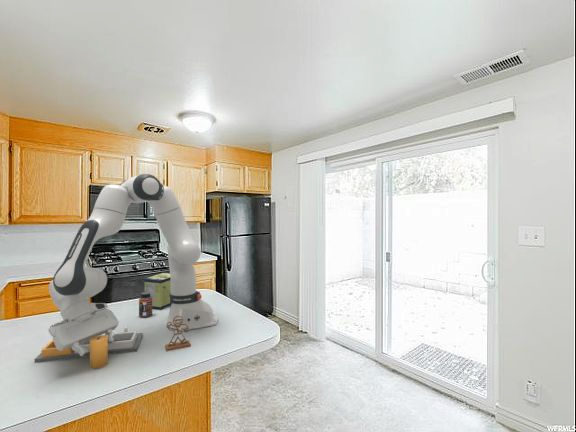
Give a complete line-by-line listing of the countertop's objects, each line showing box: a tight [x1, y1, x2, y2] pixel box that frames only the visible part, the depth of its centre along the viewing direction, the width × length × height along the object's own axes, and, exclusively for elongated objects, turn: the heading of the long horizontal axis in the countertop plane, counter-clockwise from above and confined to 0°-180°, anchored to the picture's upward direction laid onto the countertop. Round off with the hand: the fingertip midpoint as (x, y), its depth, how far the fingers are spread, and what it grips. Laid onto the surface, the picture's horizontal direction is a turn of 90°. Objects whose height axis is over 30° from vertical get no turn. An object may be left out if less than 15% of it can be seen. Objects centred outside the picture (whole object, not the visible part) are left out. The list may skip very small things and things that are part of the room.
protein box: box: [144, 272, 171, 311], centre depth 168 cm, size 10×16×16 cm
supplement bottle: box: [138, 291, 153, 318], centre depth 151 cm, size 6×6×11 cm
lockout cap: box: [89, 334, 109, 370], centre depth 106 cm, size 5×5×9 cm
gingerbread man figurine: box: [164, 316, 191, 352], centre depth 119 cm, size 9×4×12 cm, turn 118°
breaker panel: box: [33, 326, 144, 364], centre depth 118 cm, size 32×14×5 cm, turn 106°
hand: (98, 348), depth 106 cm, fingers open, 8 cm apart
